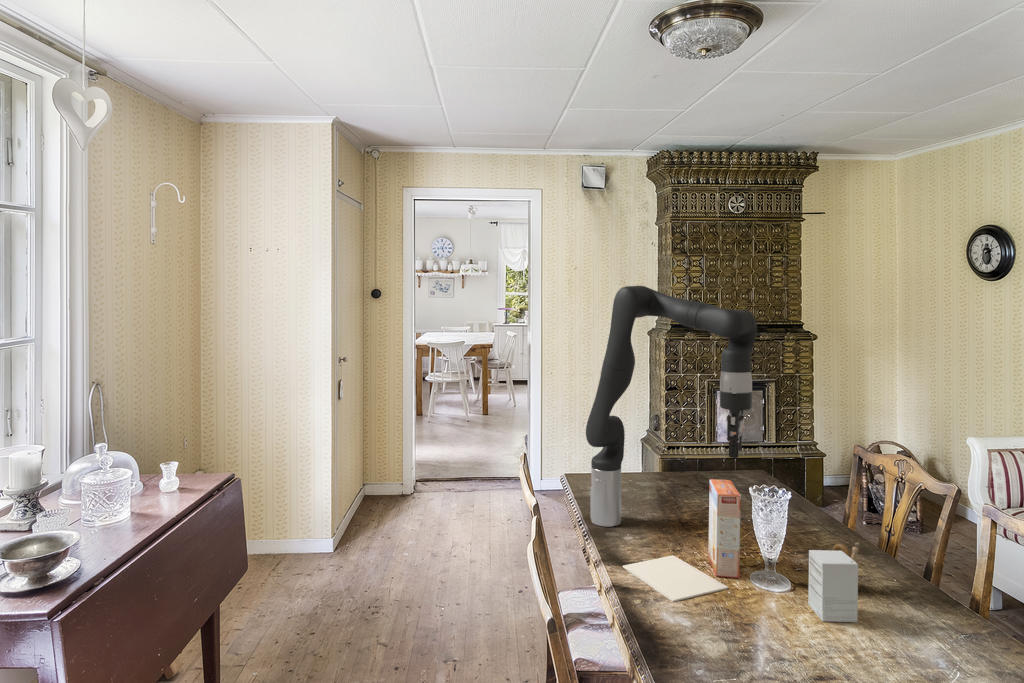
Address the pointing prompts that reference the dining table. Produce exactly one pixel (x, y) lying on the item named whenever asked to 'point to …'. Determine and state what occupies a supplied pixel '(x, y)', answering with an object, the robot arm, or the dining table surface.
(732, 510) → the cracker box
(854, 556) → the snail figurine
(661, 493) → the dining table surface
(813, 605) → the supplement box
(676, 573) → the cream placemat
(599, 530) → the dining table surface
